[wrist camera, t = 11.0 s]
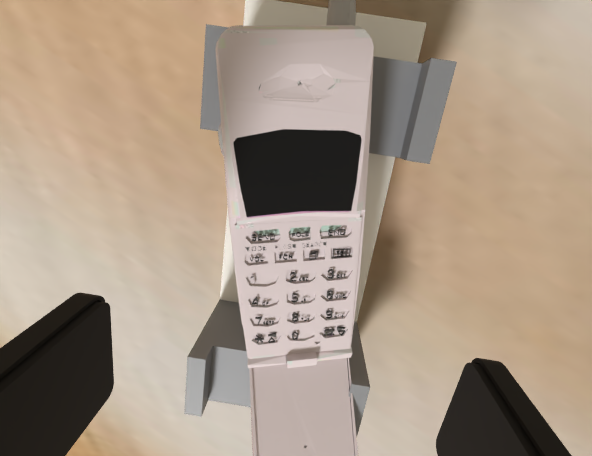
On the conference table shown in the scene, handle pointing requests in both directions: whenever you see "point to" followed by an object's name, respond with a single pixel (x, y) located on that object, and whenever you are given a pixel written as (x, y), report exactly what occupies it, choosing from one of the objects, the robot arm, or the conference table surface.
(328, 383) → the mobile phone
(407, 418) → the conference table surface
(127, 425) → the conference table surface
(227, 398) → the cradle stand
